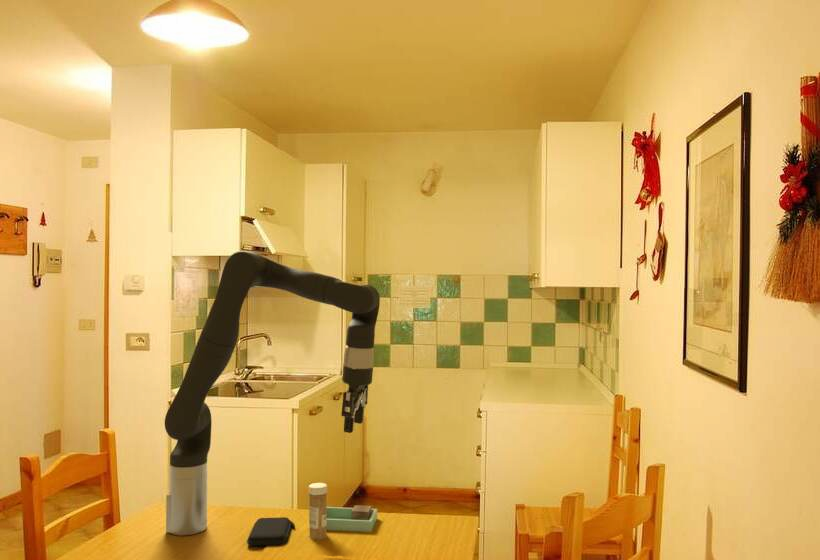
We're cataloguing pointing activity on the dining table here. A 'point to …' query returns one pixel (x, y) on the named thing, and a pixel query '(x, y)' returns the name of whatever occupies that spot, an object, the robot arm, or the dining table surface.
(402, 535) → the dining table surface
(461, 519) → the dining table surface
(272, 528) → the carrying case or bag
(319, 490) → the sprinkles bottle
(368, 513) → the copper block
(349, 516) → the tray
